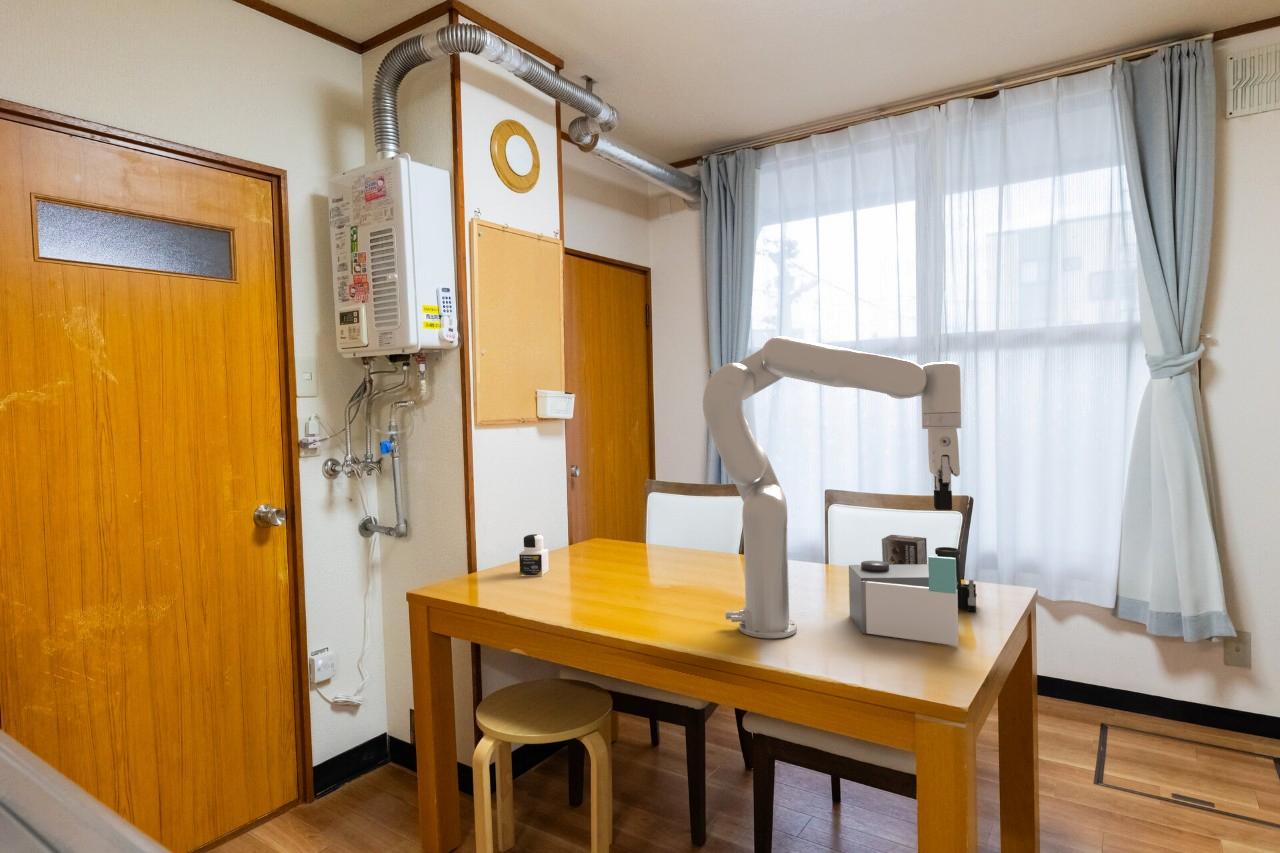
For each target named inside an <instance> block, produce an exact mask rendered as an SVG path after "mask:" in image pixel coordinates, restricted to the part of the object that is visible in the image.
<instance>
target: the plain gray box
mask: <svg viewBox="0 0 1280 853" xmlns="http://www.w3.org/2000/svg"><path fill="white" fill-rule="evenodd" d="M860 581H871V582H881V583H891V584H901V585H911V586H921V587H929V571H928V563H927V564H903V565H889V563H887V562H883V560H882V561H881V560H864V561H861V562H860V564H848V587H849V588H848V589H849V590H848V593H849V594H848V598H849V599H848V600H849V602H848V603H849V617H850V618H851V620H852V621H853V622H854V624H855V625H856V626H857V628H858V629H859V631H861V592H860ZM956 590H957V577H956Z"/></svg>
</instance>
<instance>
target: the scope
mask: <svg viewBox="0 0 1280 853" xmlns="http://www.w3.org/2000/svg"><path fill="white" fill-rule="evenodd" d="M934 552H935V555H936V556H938V557H951V558H956V577H957V596H958V610H967V612H974V613H977V596H978V594H977V591H976V590H977V588H976V587H977V585H976V583H975V582H974V581H975V580H974V579H968V584H967V583H962V578H961V563H960V557H959V556H960V555H961V550H960V549H958V548H957V547H956V548H955V547H950V546H941V547H940V546H939V547H936V548H935V549H934Z"/></svg>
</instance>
